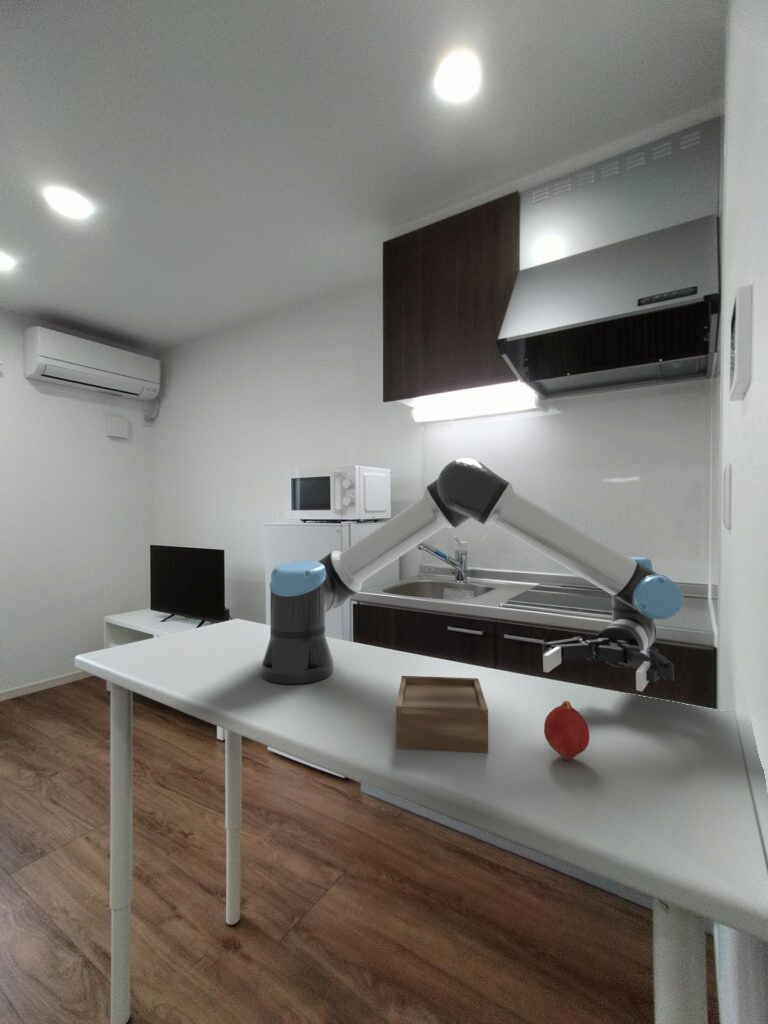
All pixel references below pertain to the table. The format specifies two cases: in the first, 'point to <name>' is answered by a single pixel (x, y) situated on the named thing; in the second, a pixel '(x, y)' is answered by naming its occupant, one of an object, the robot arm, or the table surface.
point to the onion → (566, 731)
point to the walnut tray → (441, 714)
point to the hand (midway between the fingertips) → (589, 672)
